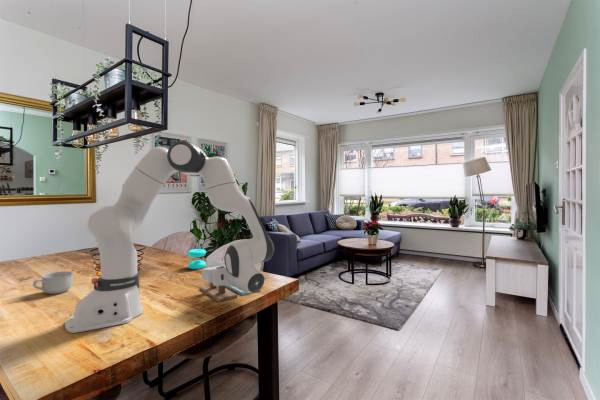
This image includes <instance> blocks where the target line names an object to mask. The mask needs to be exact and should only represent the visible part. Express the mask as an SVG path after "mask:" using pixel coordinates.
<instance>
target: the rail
mask: <svg viewBox="0 0 600 400" xmlns="http://www.w3.org/2000/svg"><path fill="white" fill-rule="evenodd" d="M223 265H225V261H224V260H221V259H218V258H217V257H213V256H212V257H207V258H206V268H207V267H216V266H223Z"/></svg>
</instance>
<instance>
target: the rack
mask: <svg viewBox="0 0 600 400" xmlns="http://www.w3.org/2000/svg"><path fill="white" fill-rule="evenodd" d="M199 290H200V291H201V292H203V293H205V294H206V295H208V296H209V297H211V298H212V299H214V300H215V301H217V302H218V303H221V302H224V301H228V300H232V299H233V300H234V299H237V298H238V293H236V292H235V291H233V290H231V289H229V288H227V287H225V285H224V286H214V285H213V283H210V282H209V284H207V285H206V284H205V285H203V286H202V285H201V286H199Z"/></svg>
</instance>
